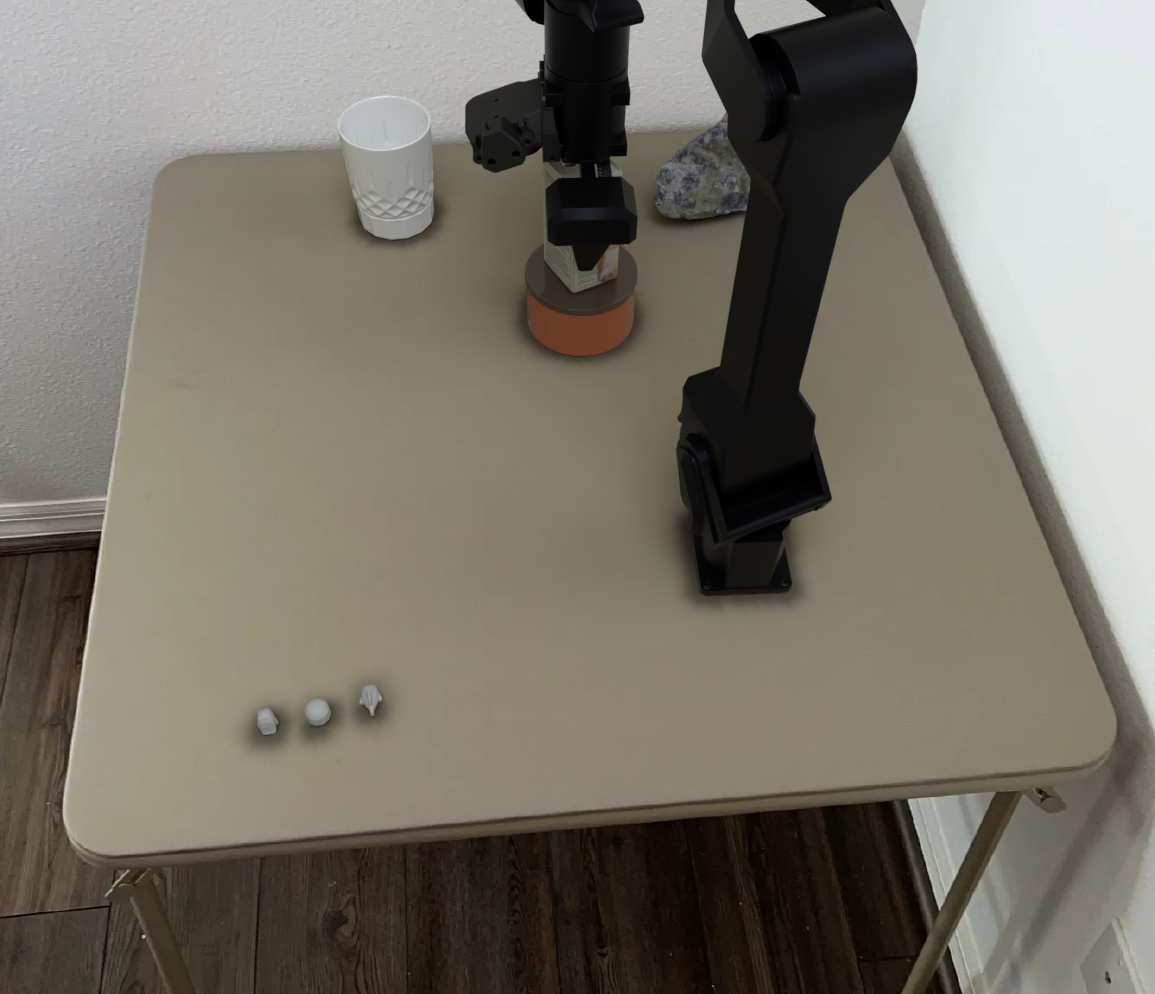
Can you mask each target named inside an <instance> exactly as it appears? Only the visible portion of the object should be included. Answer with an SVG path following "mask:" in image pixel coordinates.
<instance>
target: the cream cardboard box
mask: <svg viewBox="0 0 1155 994" xmlns="http://www.w3.org/2000/svg"><path fill="white" fill-rule="evenodd" d="M610 161H611V169H612V177H619V176H621V177H622V178H623V171H622V170H621V169H620V167H618V166H617V164H616V163H615V162H614V161H613V160H612V159H611V158H610ZM595 172H596V177H598V172H597V165H596V164H595ZM542 175H543V176H542V177H543V178H542V180H543V181H542V182H543V185H542V186H543V187H542V188H543V189H542V191H543V199H542V200H543V243H544V260H545V261H546V263H547V264H548V265H549V266H550V268H551V269H552V270H553V271H554V272H555V274H556V275H557V276H558V277H559V278H560V279H561V281H562V282H563V283H564V284H565V285H566V286H567V287H568V288H569V289H570V290H571V291H572V292H573V293H575V292H578V291H581V290H584V289H587V288H590V287H593V286H596V285H598V284H601V283H604V282H606V281H609V280H611V279H614V278H616V277H617V273H618V253H619V245H610V246H609V247H608V249H607V250H606V252H605V253H604V254H603V256H602V257H601V259H600V260H599V261H598V263H597V264H596V266H595V267H594V268H593V270H592V271H579V270H578V268H577V265H576V261H575V257H574V254H573V250H572V246H555V245H553V244H551V243H550V242H548V241H547V226H546V204H545V189H546V188H547V187H548V186H549V185H551V184H552V183H553V182H554V181H555V180H557V179H558V178H577V177H580V171H579V164H576V166H573V167H563V166H562V162H561V161H559V162H543V161H542Z"/></svg>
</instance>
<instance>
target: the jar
mask: <svg viewBox="0 0 1155 994" xmlns="http://www.w3.org/2000/svg"><path fill="white" fill-rule="evenodd" d="M638 271H639V270H638V265H637V262H636V260H635V258H634V257H633V255H632V254H631V253H630V251H629V250H627V248H626V247H624V246H622V245H619V253H618V273H617V277H616V278H614V279H611V280H609V281H606V282H604V283H601V284H598V285H596V286H593V287H590V288H587V289H584V290H581V291H578V292H575V293H573V292H572V291H571V290H570V289H569V288H568V287H567V286H566V285H565V284H564V283H563V282H562V281H561V279H560V278H559V277H558V276H557V275H556V274H555V272H554V271H553V270H552V269H551V268H550V266H549V265H548V264H547V263H546V261H545V260H544V242H543V243H541V244H540V245H539V246H537V247H536V248H535V249H534V250H533V251H532V252H531V253H530V255H529V256H528V258H527V260H526V263H525V266H524V281H525V286H526V287H525V288H526V321H527V325H528V328H529V331H530V332H531V335H532V336H533V337H534V338H535V340H536V341H538V342H539V343H540V344H541V345H543V346H544V347H545V348H547V349H548V350H551V351H554V352H555V353H558V354H561V355H566V356H572V357H573V356H574V357H589V356H590V357H591V356H595V355H600V354H604V353H607V352H609V351H611V350H613V349H615V348H616V347H618V346H620V345H621V344H622V343H623V342H624V341H625V340H626V338H627V337H628V336H629V334H630V333H631V331H632V328H633V326H634V325H633V324H634V318H635V317H634V315H635V303H636V290H637V289H636V288H637V286H638V279H639V272H638Z"/></svg>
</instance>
